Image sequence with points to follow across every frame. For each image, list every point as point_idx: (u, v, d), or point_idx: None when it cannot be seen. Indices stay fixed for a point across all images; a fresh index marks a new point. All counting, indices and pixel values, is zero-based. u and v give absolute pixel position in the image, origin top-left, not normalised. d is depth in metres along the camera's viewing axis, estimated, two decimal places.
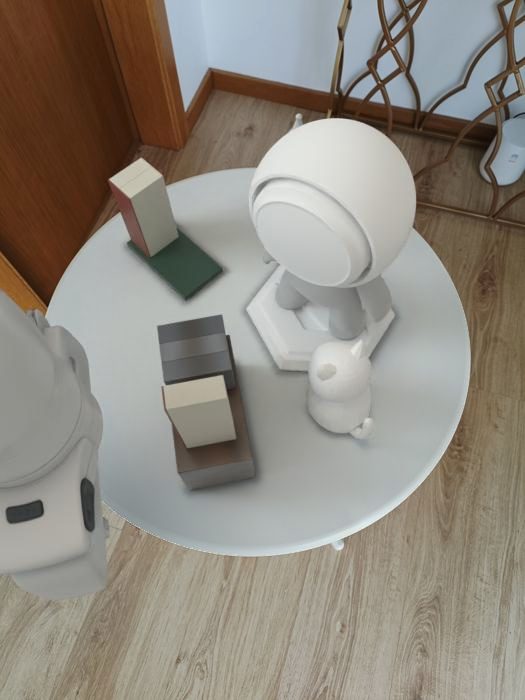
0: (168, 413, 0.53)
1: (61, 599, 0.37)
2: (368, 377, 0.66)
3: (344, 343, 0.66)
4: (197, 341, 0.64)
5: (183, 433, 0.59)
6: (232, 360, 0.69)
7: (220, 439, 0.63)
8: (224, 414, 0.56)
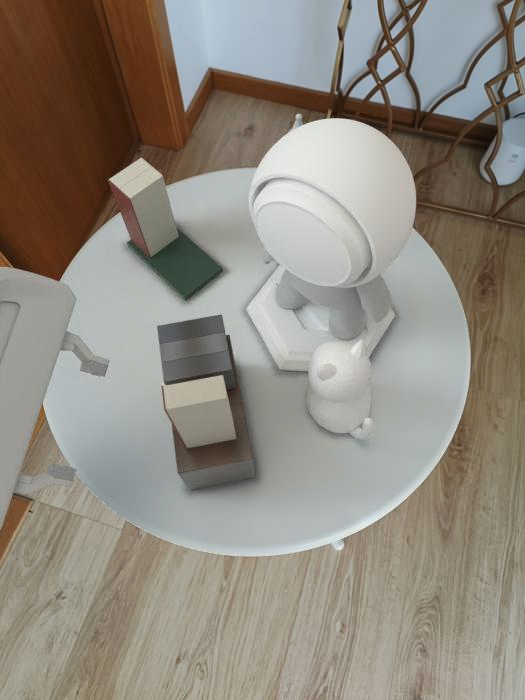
0: (168, 413, 0.53)
1: None
2: (368, 377, 0.66)
3: (344, 343, 0.66)
4: (197, 341, 0.64)
5: (183, 433, 0.59)
6: (232, 360, 0.69)
7: (220, 439, 0.63)
8: (224, 414, 0.56)
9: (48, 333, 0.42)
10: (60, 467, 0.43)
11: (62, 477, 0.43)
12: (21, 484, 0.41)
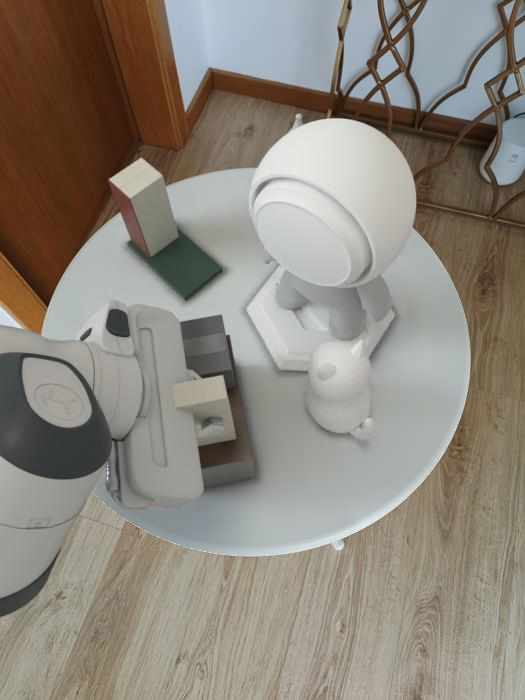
0: None
1: None
2: (368, 377, 0.66)
3: (344, 343, 0.66)
4: (197, 341, 0.64)
5: None
6: (232, 360, 0.69)
7: (220, 439, 0.63)
8: (224, 414, 0.56)
9: (174, 345, 0.55)
10: (213, 417, 0.56)
11: (217, 424, 0.56)
12: (196, 430, 0.53)
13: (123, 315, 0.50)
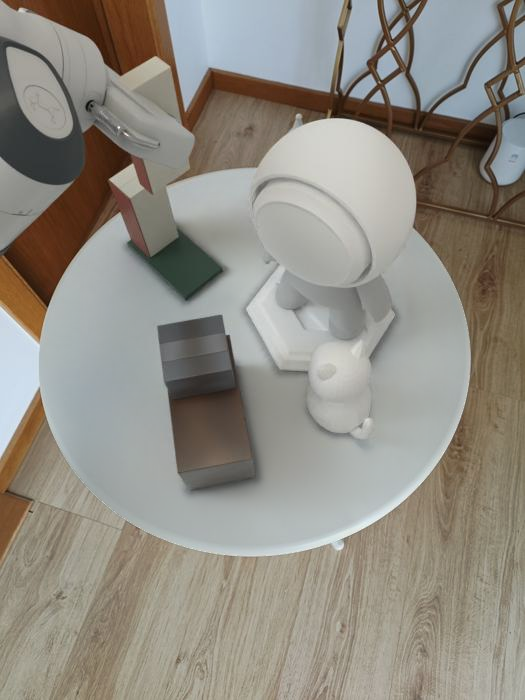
0: None
1: None
2: (368, 377, 0.66)
3: (344, 343, 0.66)
4: (197, 341, 0.64)
5: None
6: (232, 360, 0.69)
7: (177, 170, 0.66)
8: (173, 106, 0.58)
9: None
10: None
11: (171, 116, 0.58)
12: None
13: None
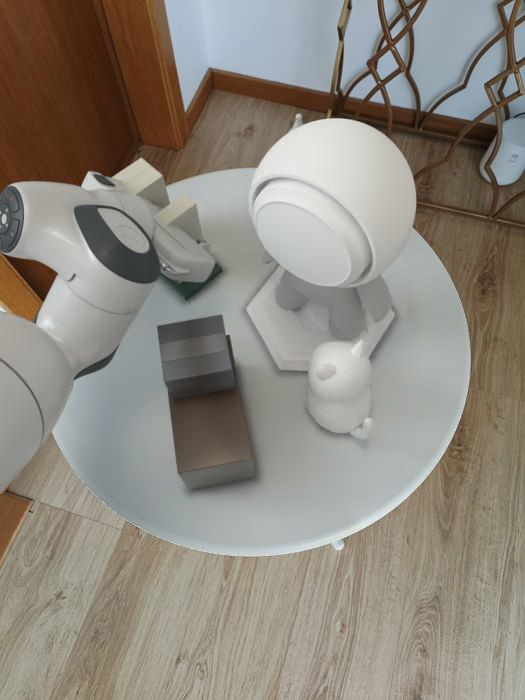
0: None
1: None
2: (368, 377, 0.66)
3: (344, 343, 0.66)
4: (197, 341, 0.64)
5: None
6: (232, 360, 0.69)
7: None
8: (196, 226, 0.78)
9: (140, 196, 0.76)
10: (198, 239, 0.77)
11: (204, 242, 0.77)
12: None
13: (102, 176, 0.70)
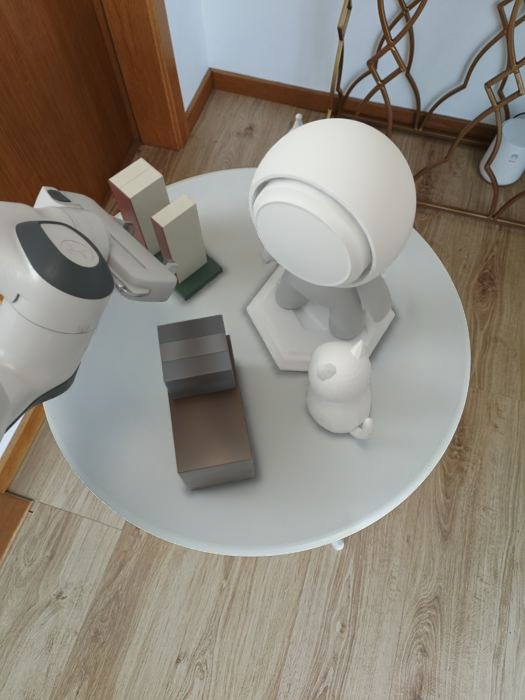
0: (164, 232, 0.73)
1: None
2: (368, 377, 0.66)
3: (344, 343, 0.66)
4: (197, 341, 0.64)
5: (175, 260, 0.80)
6: (232, 360, 0.69)
7: (197, 265, 0.85)
8: (196, 226, 0.78)
9: (100, 211, 0.73)
10: (166, 259, 0.74)
11: (171, 262, 0.74)
12: None
13: (58, 192, 0.67)
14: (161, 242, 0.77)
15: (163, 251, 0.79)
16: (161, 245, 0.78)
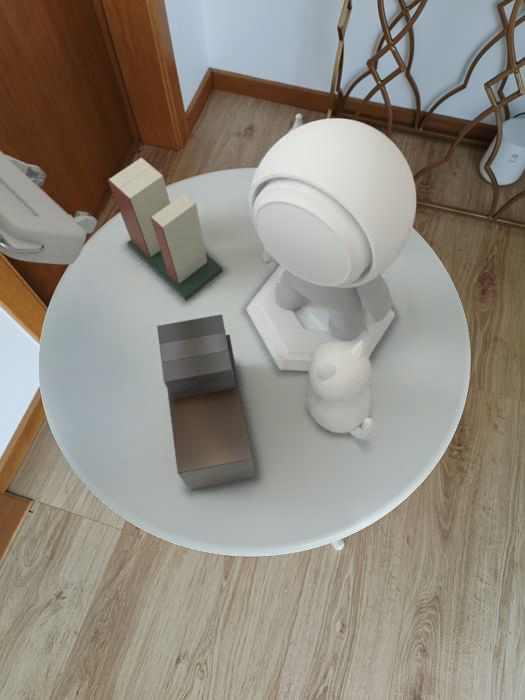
0: (164, 232, 0.73)
1: None
2: (368, 377, 0.66)
3: (344, 343, 0.66)
4: (197, 341, 0.64)
5: (175, 260, 0.80)
6: (232, 360, 0.69)
7: (197, 265, 0.85)
8: (196, 226, 0.78)
9: None
10: (79, 211, 0.56)
11: (86, 215, 0.56)
12: None
13: None
14: (161, 242, 0.77)
15: (163, 251, 0.79)
16: (161, 245, 0.78)
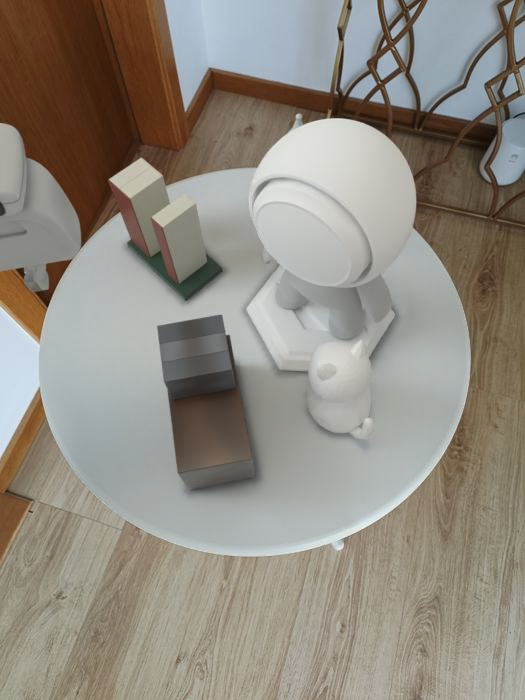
0: (164, 232, 0.73)
1: (78, 242, 0.41)
2: (368, 377, 0.66)
3: (344, 343, 0.66)
4: (197, 341, 0.64)
5: (175, 260, 0.80)
6: (232, 360, 0.69)
7: (197, 265, 0.85)
8: (196, 226, 0.78)
9: (23, 259, 0.41)
10: None
11: None
12: None
13: None
14: (161, 242, 0.77)
15: (163, 251, 0.79)
16: (161, 245, 0.78)
